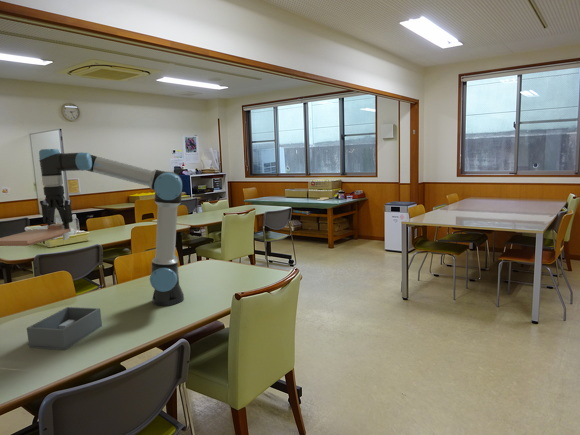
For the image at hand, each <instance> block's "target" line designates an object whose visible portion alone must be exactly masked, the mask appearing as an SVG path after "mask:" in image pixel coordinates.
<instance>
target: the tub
mask: <svg viewBox="0 0 580 435" xmlns="http://www.w3.org/2000/svg"><path fill="white" fill-rule="evenodd" d="M101 314H102V313H101V308H100V307H99V308H98V307H95V308H94V307H77V306H67V307H65V308H63V309H61V310H58V311H57V312H55V313H53V314H51V315H49V316H47V317H46V318H43V319H42V320H39V321H37V322H35V323H33V324H32V325H29V326H28V327H26V332H27V340H28V347H29V348H31V349H42V350H44V349H47V350H59V351H66V350H68V349H70V347H72V346H74V345H76V344H77V343H79V342H80V341H81V340H84V338H86V337H87V336H89V335H91V334H92V333H93V332H95V331H97V330H98V329H100V328H102V326H103V322H102V315H101Z"/></svg>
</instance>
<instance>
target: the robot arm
mask: <svg viewBox="0 0 580 435" xmlns="http://www.w3.org/2000/svg"><path fill="white" fill-rule="evenodd" d="M38 156H39V157H38V159H39V165H40V171H41V172H40V173H41V179H42V180H41V181H42V185H43V186H44V187H43V195H44V196H45V198H44V199H42V200H40V201H39V205H40V206H41V207H40V208H41V213H42V214H41V216H42V222H43V223H44V224H47V226H50V225H54V224H55V215H56V214H55V212H56V210H57V211H58V214H59V217H60V220H61V222H62V223H63V224H62V225H61V226H62V229H69V226H70V224H71V223H72V222H73V213H72V206H71V204H72V200H71V199H66V197H65V187H64V185H63V184H64V182H63V173H62V172H71V171H75V172H76V171H88V172H91V173H95V174H100V175H104V176H107V177H111V178H113V179H114V178H115V179H119V180H123V181H126V182H129V183H135V184H138V185H143V186H147V187H149V189H151V190H154V203H155V204H156V205H157V215H156V216H157V220H156V237H155V240H156V241H155V257H153V258H152V260H151V268H150V269H151V270H150V276H149V282H150V285H151V287H152V288H153V289H154V292H153V294H152V298H151V299H152V304H153V305H154V306H158V307H159V306H162V307H163V306H164V307H165V306H173V305H177V304H179V303H182V302H183V301H184V299H185V295H184V292H183V289H182V287H181V285H180V279H179V278H180V277H179V267H178V266H179V260H178V257H177V255H176V245H177V244H176V242H177V225H178V224H177V223H178V206H180V205H181V204H182V196H183V195H182V191H183V180H182V178H181V177H180V175H179V174H178V173H176V172H173V171H164V170H159V169H154V170H150V169H148V168H147V169H146V168H143V167H140V166H139V167H138V166H135V165H131V164H127V163H123V162H119V161H116V160H112V159H108V158H105V157H100V156H97V155H92V154H90V153H89V152H83V151H82V152H80V151H79V152H66V153H62V152H61V153H60V150H59V149H58V148H46V149H45V148H43V149H42V148H41V149H40V150H39V151H38ZM69 233H70V232H67V233H64V234H63V236H62V240H63V241H66V240H68V239H70V234H69ZM57 239H58V237H57V238H53V239H50V240H51V241H55V240H57Z"/></svg>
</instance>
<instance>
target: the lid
mask: <svg viewBox="0 0 580 435" xmlns="http://www.w3.org/2000/svg"><path fill="white" fill-rule="evenodd" d="M62 224H63V222H62V223H61V222H58V223H54V225H50V226H48V225H47V228H35V229H31V230H26V231H24V232H18V233H15V234H11V235H7V236H3V237H0V247H13V246H14V247H26V246H32V245H36V244H40V243H42V242H46V241H49V240H51V239H53V238H57V239H58V238H60V237H63V234H64V233H67V232H68V233H70V232H72V231H71V230H72V229H71V228H70V225H69V229H62V226H61V225H62Z"/></svg>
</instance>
